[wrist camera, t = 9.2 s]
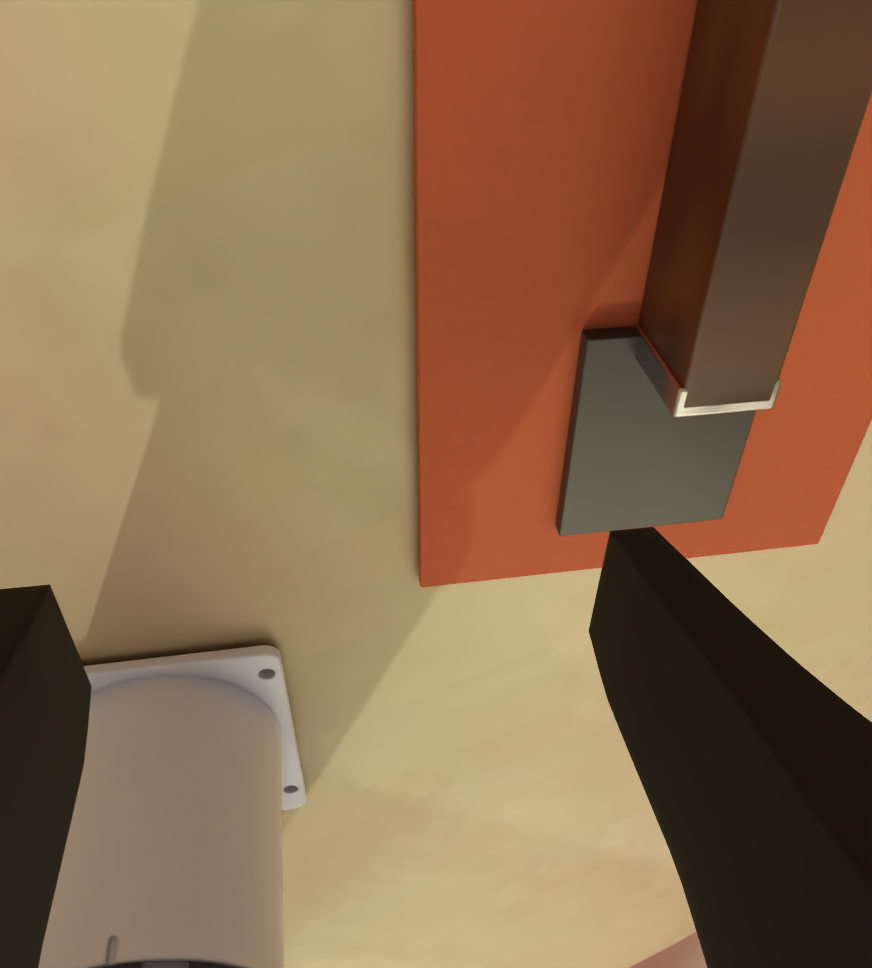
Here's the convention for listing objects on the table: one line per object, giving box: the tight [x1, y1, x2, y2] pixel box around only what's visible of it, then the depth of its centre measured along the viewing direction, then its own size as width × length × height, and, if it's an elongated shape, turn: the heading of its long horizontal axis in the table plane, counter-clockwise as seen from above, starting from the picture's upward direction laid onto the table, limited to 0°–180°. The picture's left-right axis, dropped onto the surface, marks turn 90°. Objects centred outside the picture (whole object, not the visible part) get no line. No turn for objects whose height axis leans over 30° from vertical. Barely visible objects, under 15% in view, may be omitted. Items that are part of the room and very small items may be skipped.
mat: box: [413, 0, 872, 587], centre depth 19 cm, size 20×13×1 cm, turn 179°
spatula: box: [555, 0, 872, 536], centre depth 18 cm, size 15×5×3 cm, turn 0°
